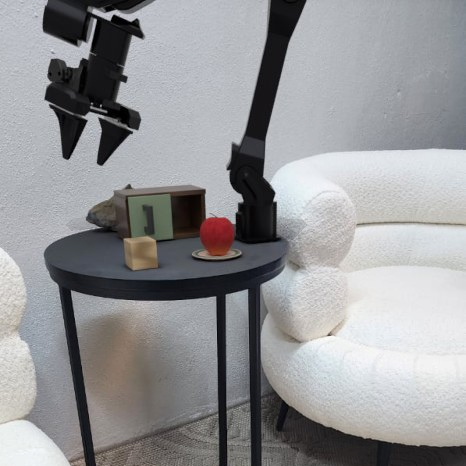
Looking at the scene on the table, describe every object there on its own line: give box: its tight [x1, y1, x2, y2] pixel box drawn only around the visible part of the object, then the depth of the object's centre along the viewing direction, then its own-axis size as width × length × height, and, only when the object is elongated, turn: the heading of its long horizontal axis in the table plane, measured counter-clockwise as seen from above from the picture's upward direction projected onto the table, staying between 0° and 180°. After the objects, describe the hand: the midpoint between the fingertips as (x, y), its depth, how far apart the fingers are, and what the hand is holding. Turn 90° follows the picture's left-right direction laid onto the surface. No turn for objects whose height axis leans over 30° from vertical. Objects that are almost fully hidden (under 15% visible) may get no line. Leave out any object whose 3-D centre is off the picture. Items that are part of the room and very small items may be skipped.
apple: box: [191, 212, 242, 261], centre depth 110 cm, size 8×8×6 cm
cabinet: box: [112, 184, 207, 242], centre depth 126 cm, size 15×8×8 cm, turn 113°
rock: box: [85, 183, 135, 232], centre depth 133 cm, size 11×6×10 cm
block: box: [123, 236, 159, 271], centre depth 105 cm, size 4×4×4 cm
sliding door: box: [128, 194, 174, 241], centre depth 120 cm, size 8×4×7 cm, turn 113°
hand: (83, 162), depth 116 cm, fingers open, 9 cm apart
